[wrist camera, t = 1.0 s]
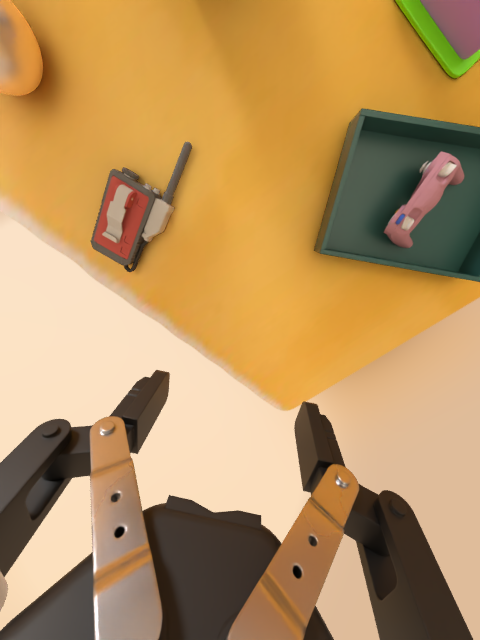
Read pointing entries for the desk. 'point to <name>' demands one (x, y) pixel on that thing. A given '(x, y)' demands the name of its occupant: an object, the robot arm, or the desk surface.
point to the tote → (404, 195)
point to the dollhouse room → (447, 30)
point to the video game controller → (424, 197)
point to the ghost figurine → (18, 53)
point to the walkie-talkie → (133, 213)
